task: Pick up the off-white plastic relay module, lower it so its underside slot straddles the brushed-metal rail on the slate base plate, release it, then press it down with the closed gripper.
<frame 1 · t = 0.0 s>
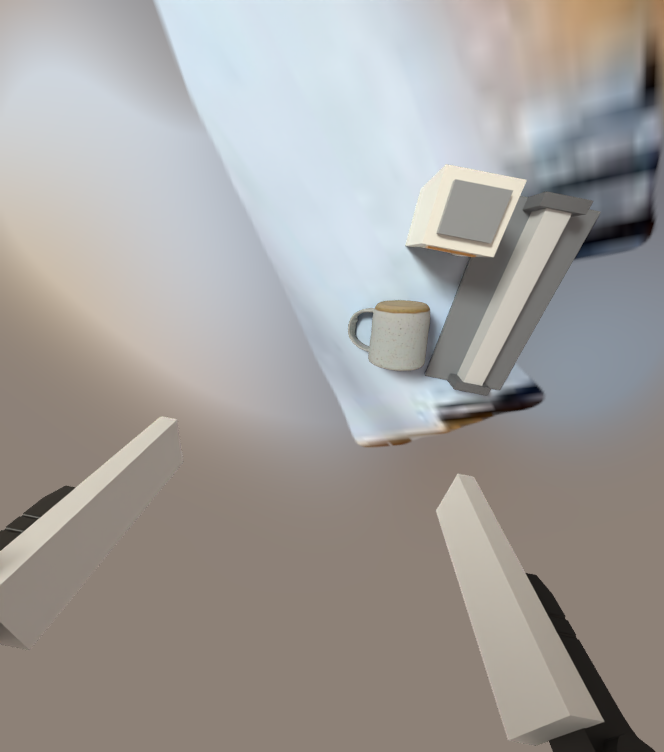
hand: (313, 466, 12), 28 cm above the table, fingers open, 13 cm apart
module: (440, 224, 30), on the table
rail base: (497, 306, 34), on the table
ceramic mug: (385, 328, 37), on the table
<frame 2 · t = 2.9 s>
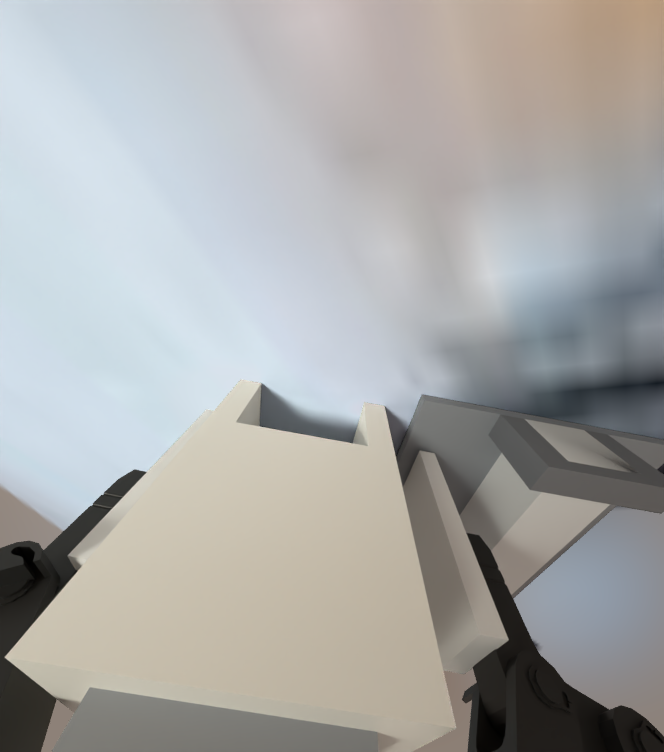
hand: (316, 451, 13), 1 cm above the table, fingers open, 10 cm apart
module: (305, 439, 13), on the table
rail base: (447, 555, 17), on the table
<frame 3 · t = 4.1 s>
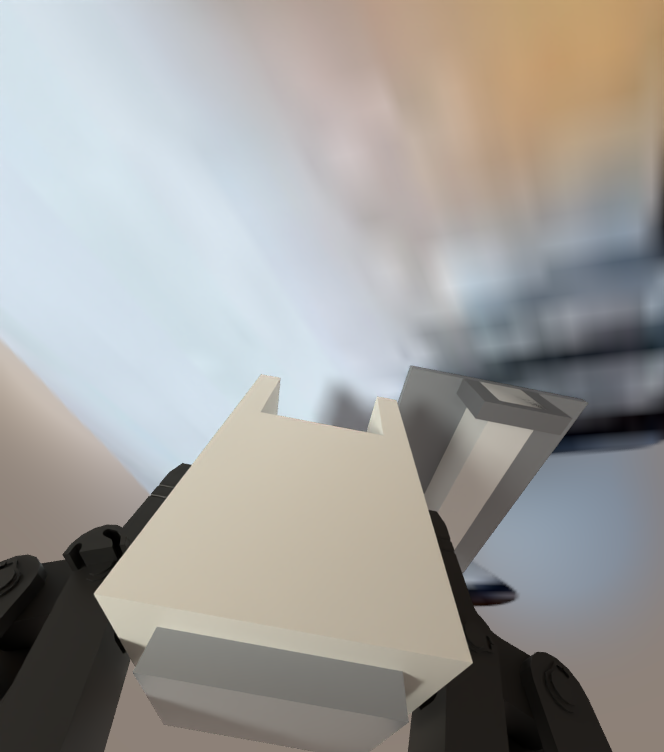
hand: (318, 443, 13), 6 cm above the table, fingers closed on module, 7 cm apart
module: (320, 432, 14), point 5 cm above the table, touching gripper
rail base: (434, 499, 22), on the table
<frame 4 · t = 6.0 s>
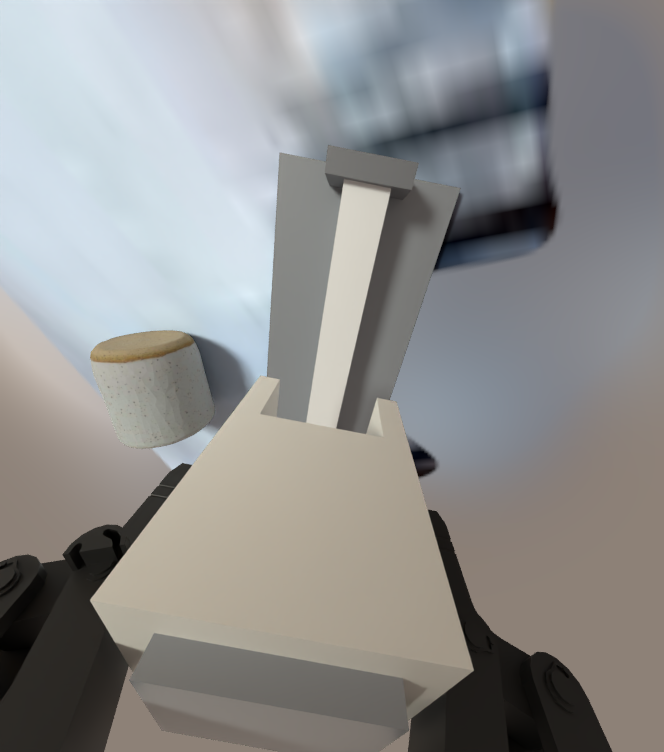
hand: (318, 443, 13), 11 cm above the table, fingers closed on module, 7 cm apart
module: (319, 434, 14), point 10 cm above the table, touching gripper
rail base: (337, 341, 22), on the table
ceramic mug: (174, 368, 25), on the table
when the fingers open (2 cm above the table, at t = 7.8 s): module stays where it is, resting on rail base.
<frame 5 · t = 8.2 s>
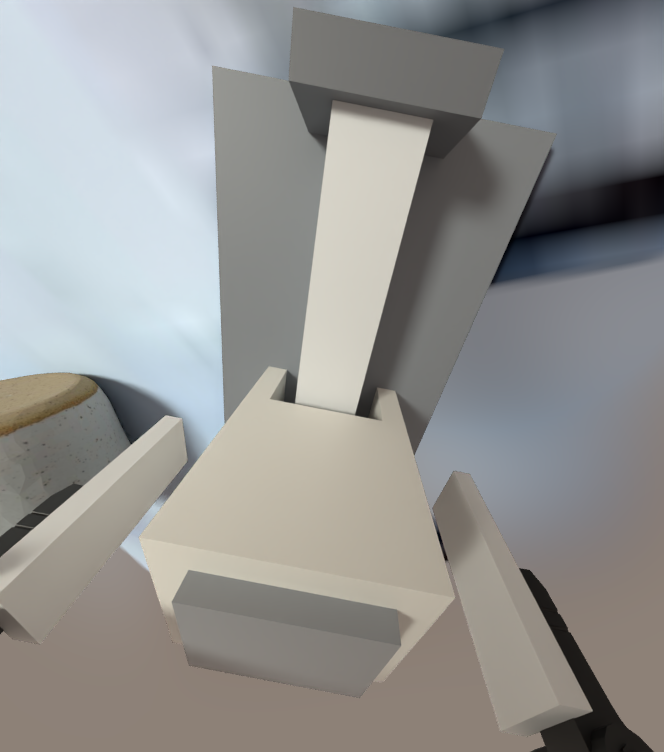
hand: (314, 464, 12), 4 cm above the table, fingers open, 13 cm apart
module: (323, 422, 15), resting on rail base
rail base: (328, 390, 14), on the table
ceramic mug: (88, 420, 17), on the table
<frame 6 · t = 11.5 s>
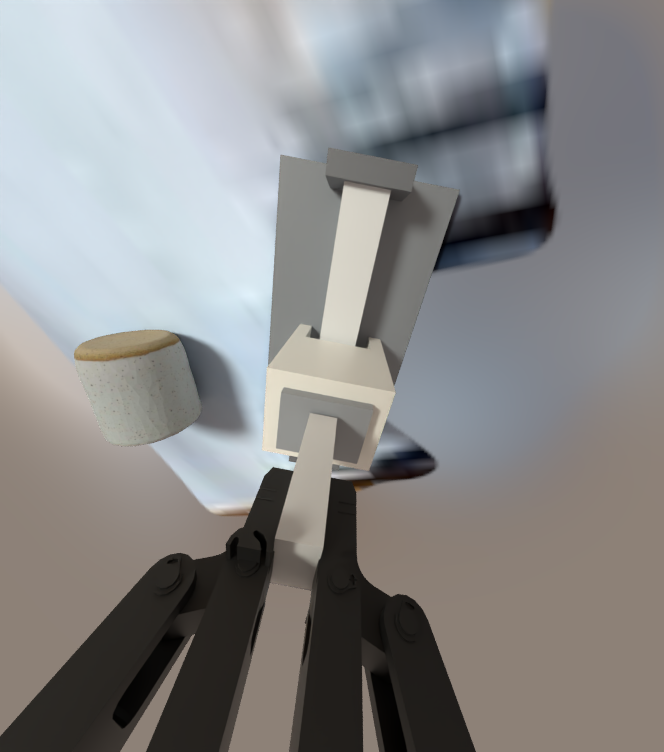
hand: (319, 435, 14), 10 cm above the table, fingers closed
module: (334, 362, 22), resting on rail base, touching gripper
rail base: (337, 341, 22), on the table
ceramic mug: (162, 367, 25), on the table
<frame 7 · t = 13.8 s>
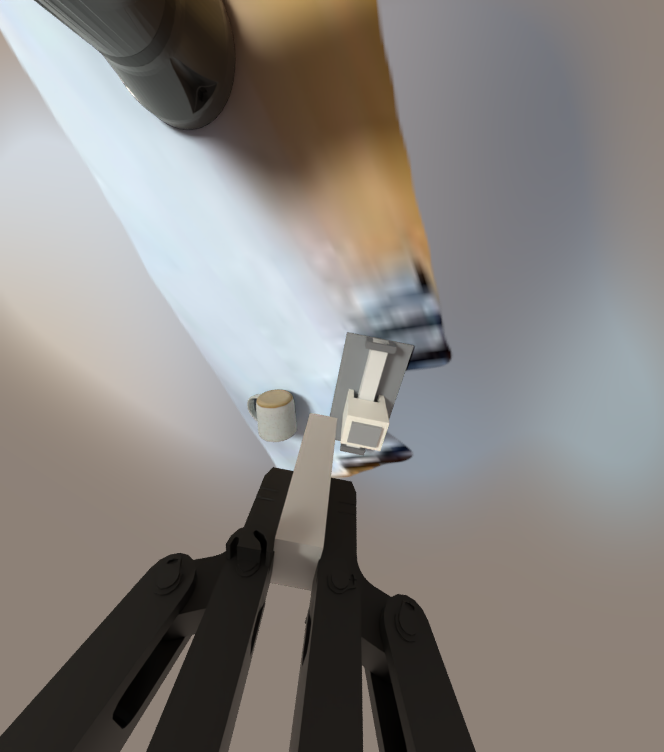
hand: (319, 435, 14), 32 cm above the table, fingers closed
module: (362, 405, 49), resting on rail base
rail base: (364, 395, 49), on the table
ceramic mug: (275, 404, 52), on the table
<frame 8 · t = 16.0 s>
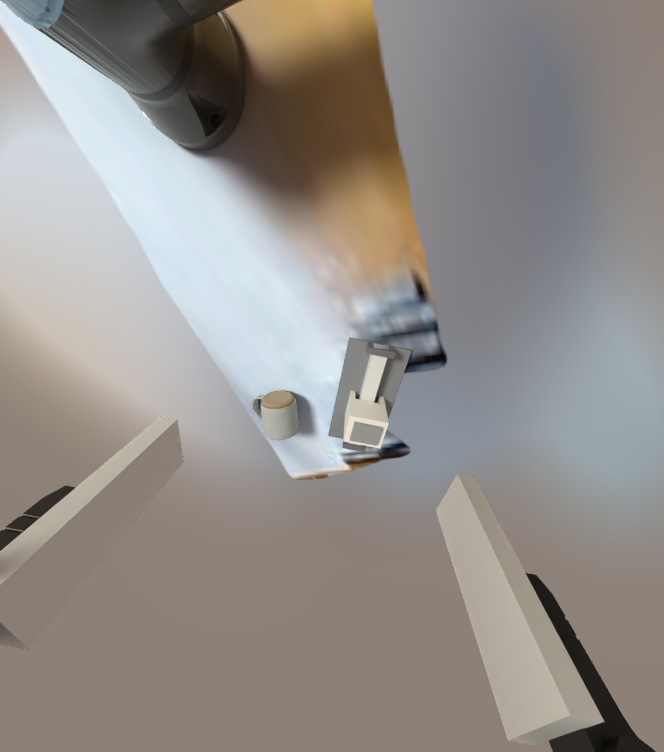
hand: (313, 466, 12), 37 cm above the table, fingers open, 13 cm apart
module: (363, 405, 53), resting on rail base
rail base: (365, 396, 52), on the table
ceramic mug: (278, 404, 55), on the table
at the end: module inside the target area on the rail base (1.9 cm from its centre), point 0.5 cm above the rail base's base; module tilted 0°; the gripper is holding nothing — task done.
